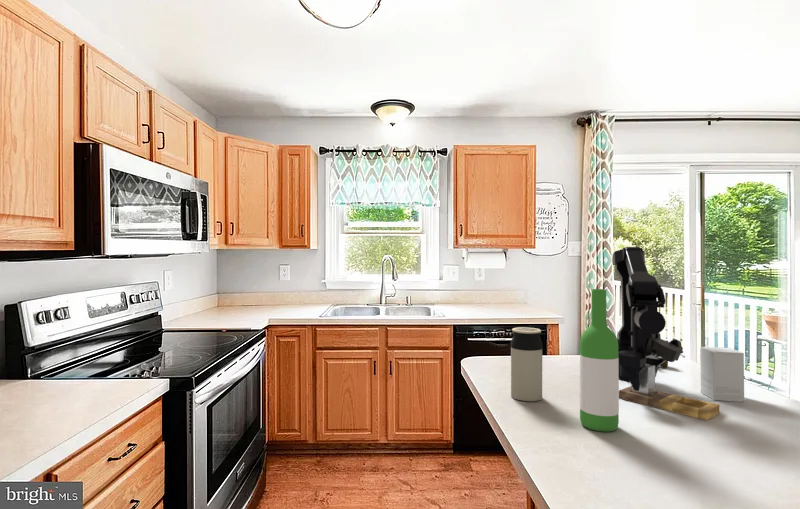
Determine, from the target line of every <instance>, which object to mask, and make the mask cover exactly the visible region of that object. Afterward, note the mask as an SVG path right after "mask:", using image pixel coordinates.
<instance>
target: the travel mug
mask: <svg viewBox="0 0 800 509" xmlns="http://www.w3.org/2000/svg"><path fill="white" fill-rule="evenodd" d="M511 331H512V332H513V336H512V338H511V339H510V396H511V397H512V398H513V399H515V400H517V401H521V402H525V403H533V402H538V401H540V400H542V399H543V341H542V339H541V336H540V335H541V333H542V330H541V329H540V328H535V327H525V326H521V327H520V326H518V327H513V328H512V329H511Z"/></svg>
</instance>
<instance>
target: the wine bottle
mask: <svg viewBox="0 0 800 509" xmlns="http://www.w3.org/2000/svg"><path fill="white" fill-rule="evenodd" d="M590 302H591V303H590V304H591V305H590V306H591V316H590V318H591V320H590V322H591V324H590V325H589V326H588V327H587V328H586V329H585V330H583V332H582V334H581V336H580V340H579V420H580V423H581V424H582V426H583V427H585V428H587V429H590V430H593V431H596V432H597V431H598V432H606V433H608V432H609V433H610V432H613V431H616V430H617V428H618V427H619V422H620V420H619V417H620V415H619V413H620V412H619V410H620V404H619V402H620V401H619V400H620V398H619V390H620V389H619V382H620V381H619V380H620V379H619V357H618V340H617V334H615V333H614V331H613V330H612V329H611V328H609V327H608V325H607V290H606V289H603V288H592V289H591V301H590Z"/></svg>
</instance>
